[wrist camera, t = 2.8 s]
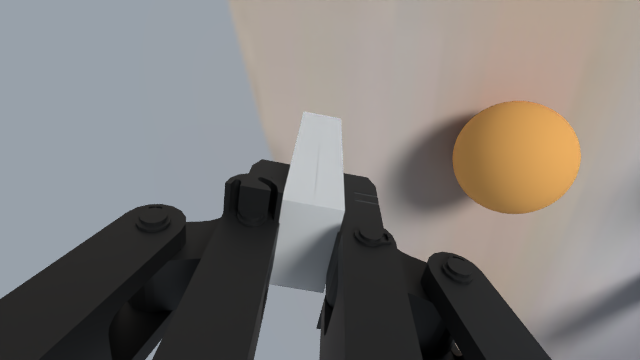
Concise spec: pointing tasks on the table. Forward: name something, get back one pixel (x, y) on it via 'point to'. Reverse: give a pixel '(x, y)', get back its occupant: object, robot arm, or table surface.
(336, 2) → the table surface
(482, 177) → the ball
